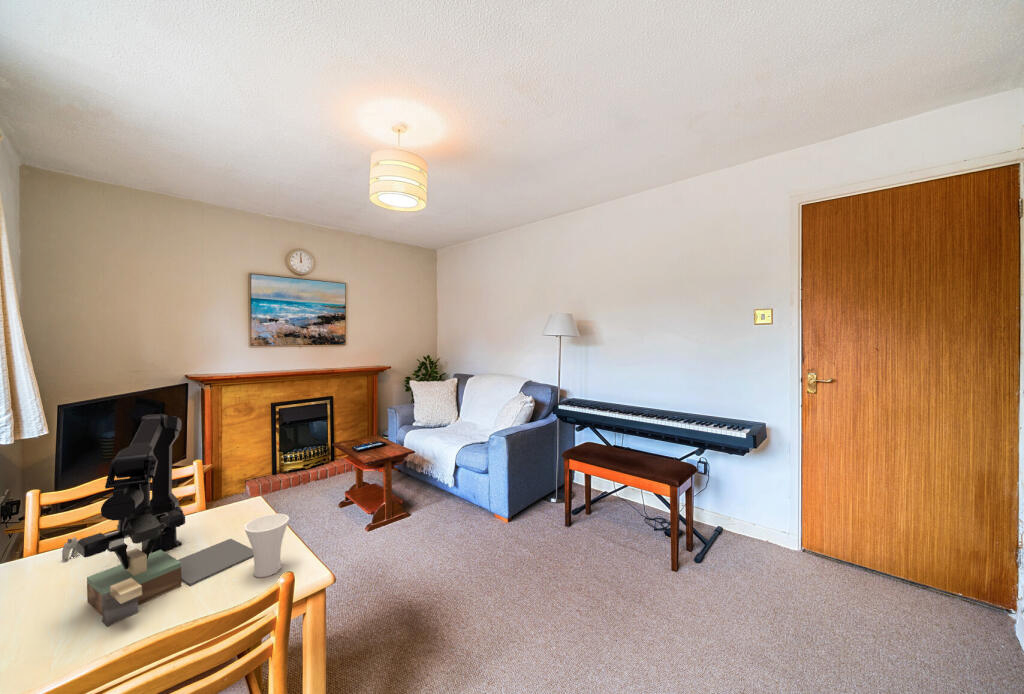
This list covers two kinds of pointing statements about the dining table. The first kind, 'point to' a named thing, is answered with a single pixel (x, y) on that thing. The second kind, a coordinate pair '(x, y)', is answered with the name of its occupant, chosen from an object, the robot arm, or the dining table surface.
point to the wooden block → (125, 590)
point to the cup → (266, 542)
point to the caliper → (73, 547)
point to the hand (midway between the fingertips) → (135, 565)
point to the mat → (213, 561)
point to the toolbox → (150, 590)
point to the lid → (134, 570)
